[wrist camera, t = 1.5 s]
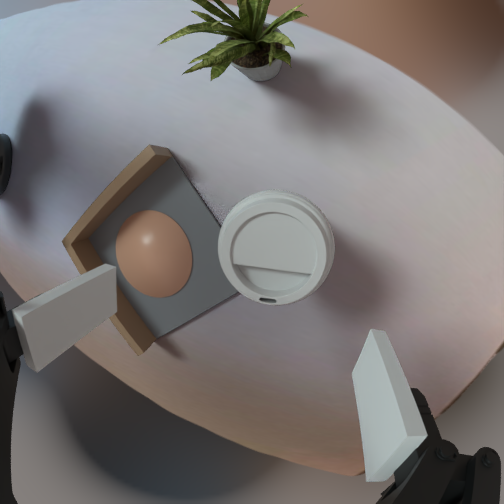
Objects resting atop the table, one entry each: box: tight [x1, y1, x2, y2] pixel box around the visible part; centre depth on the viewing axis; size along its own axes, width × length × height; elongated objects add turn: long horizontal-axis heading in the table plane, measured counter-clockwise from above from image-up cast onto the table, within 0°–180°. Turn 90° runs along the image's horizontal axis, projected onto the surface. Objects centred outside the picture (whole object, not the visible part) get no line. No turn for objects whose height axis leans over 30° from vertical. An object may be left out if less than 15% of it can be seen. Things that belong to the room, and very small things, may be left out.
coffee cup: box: [218, 190, 335, 305], centre depth 28 cm, size 10×10×15 cm
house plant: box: [158, 0, 307, 81], centre depth 22 cm, size 14×14×16 cm
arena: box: [62, 145, 239, 356], centre depth 37 cm, size 22×22×5 cm
